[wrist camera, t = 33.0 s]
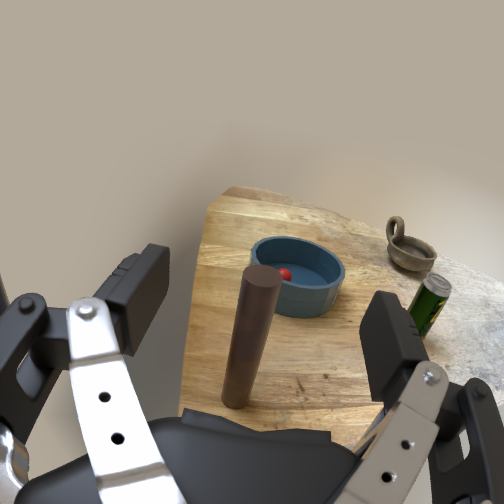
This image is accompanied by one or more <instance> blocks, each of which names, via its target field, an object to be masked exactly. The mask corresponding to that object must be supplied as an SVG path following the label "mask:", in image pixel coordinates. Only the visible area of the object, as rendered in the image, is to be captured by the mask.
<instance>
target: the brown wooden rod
mask: <svg viewBox="0 0 504 504" xmlns="http://www.w3.org/2000/svg"><path fill="white" fill-rule="evenodd" d="M282 282H283V277H282V274H281V273H280V272H279V271H278V270H276V269H275V268H273V267H270V266H267V265H262V264H254V265H250V266H248V267H246V268H245V269H244V271H243V277H242V282H241V288H240V293H239V299H238V305H237V310H236V316H235V322H234V327H233V333H232V339H231V344H230V350H229V356H228V361H227V367H226V373H225V379H224V384H223V390H222V396H221V398H222V401H223V403H224V404H225V405H226V406H227V407H229V408H232V409H240V408H243V407H244V406H245V405H246V404H247V403H248V400H249V397H250V393H251V390H252V387H253V384H254V380H255V377H256V374H257V370H258V367H259V364H260V360H261V357H262V353H263V350H264V346H265V343H266V340H267V336H268V333H269V329H270V325H271V322H272V318H273V315H274V311H275V308H276V304H277V300H278V297H279V293H280V289H281V286H282Z"/></svg>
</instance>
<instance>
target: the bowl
mask: <svg viewBox="0 0 504 504" xmlns="http://www.w3.org/2000/svg"><path fill="white" fill-rule="evenodd" d="M396 223H397V230H396V233H395V234H394V226H395V224H396ZM386 234H387V239H388V241H389V245H388V247H387V250H388V253H389V256H390V257H391V259H392V260H393V262H395V263H396V264H398V265H399V266H401V267H402V268H404V269H407V270H410V271H411V272H412V271H419V272H428V271H430V270H431V268H432V267H433V264H434V260H435V259H436V258H437V253H436V252H435V250H434V249H433V248H432V247H431V246H430V245H428V244H427V243H425V242H423V241H422V240H419V239H416V238H414V237H410V236H405V235H404V220H403V219H402V218H401V217H399V216H393V217H391V218H390V219H389V221H388V223H387V227H386Z"/></svg>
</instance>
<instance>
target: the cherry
mask: <svg viewBox="0 0 504 504" xmlns="http://www.w3.org/2000/svg"><path fill="white" fill-rule="evenodd" d="M278 271H279V272H280V273H281V274H282V277H283V280H286V281H289V282H290V281H291V278H292V276H291V273H290V271H289V270H287V269H284V268H282V269H279V270H278Z"/></svg>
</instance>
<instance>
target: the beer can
mask: <svg viewBox="0 0 504 504" xmlns="http://www.w3.org/2000/svg"><path fill="white" fill-rule="evenodd" d="M451 290H452V286H451V284H450V283H449V282H448V281H447V280H446V279H445V278H443V277H442V276H440V275H438V274H435V273H428V274H427V276H426V277H425V278H424V279H423V281H422V283H421V285H420V287H419V289H418V291H417V293H416V295H415V297H414V299H413V301H412V303H411V304H410V306H409V308H408V310H407V311H408V313H409V314H410V315H411V316H412V318H413V320H414V322H415V325H416V328H417V330H418V332H419V336H420V337H421V340H422V341H423V339H424V338H425V336H426V335H427V333H428V332H429V330H430V328H431V327H432V325H433V324H434V322H435V320H436V319H437V317H438V315H439V314H440V312H441V310H442V308H443V307H444V305H445V303H446V301H447V300H448V298H449V296H450V293H451Z"/></svg>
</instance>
